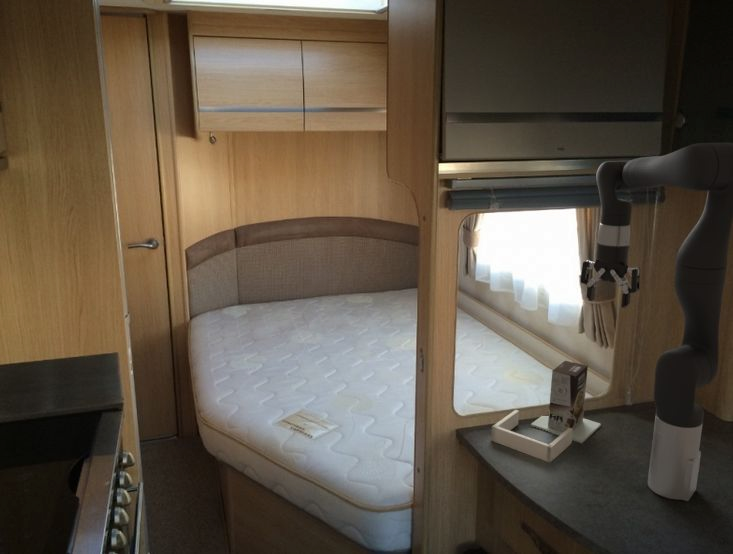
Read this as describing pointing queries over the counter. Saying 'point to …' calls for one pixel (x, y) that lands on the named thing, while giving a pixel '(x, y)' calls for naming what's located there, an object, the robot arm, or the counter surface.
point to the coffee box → (567, 396)
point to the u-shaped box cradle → (528, 439)
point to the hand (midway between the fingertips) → (607, 303)
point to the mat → (578, 433)
